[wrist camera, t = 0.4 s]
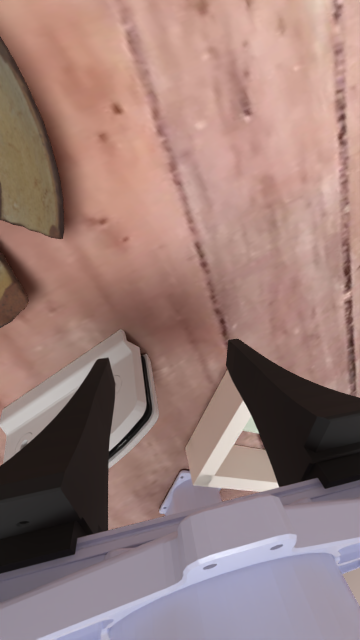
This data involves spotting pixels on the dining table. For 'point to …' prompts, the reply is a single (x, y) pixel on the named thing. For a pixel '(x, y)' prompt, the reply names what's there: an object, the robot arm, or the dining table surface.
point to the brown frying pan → (24, 176)
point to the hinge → (54, 393)
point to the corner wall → (227, 446)
